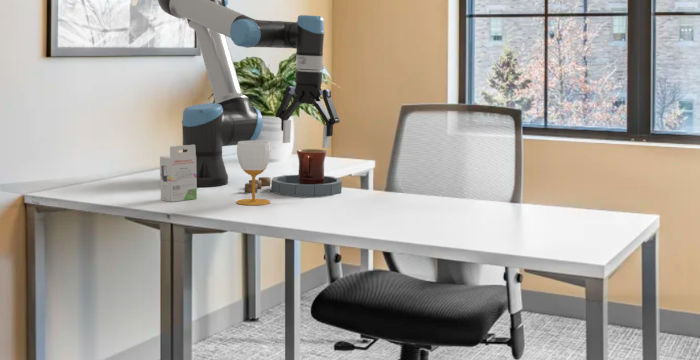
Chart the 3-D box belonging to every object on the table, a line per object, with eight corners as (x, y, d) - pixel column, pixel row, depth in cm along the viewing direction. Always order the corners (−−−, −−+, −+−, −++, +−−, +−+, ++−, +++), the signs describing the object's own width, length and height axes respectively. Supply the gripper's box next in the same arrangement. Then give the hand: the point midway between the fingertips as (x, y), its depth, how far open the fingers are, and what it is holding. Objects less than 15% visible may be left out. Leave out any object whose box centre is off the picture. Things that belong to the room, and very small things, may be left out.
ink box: (186, 196, 241) (186, 142, 238) (197, 199, 237) (197, 144, 235) (159, 199, 235) (158, 144, 232) (169, 202, 231) (169, 146, 229)
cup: (261, 206, 228) (262, 144, 226) (230, 203, 231) (230, 142, 229) (276, 201, 237) (277, 141, 234) (245, 198, 240) (246, 139, 237)
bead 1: (242, 192, 250) (242, 184, 250) (249, 191, 253) (249, 182, 253) (252, 193, 248) (252, 185, 248) (260, 192, 251) (260, 183, 251)
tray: (258, 191, 252) (258, 180, 251) (297, 183, 269) (297, 172, 268) (317, 198, 242) (317, 187, 241) (354, 189, 259) (354, 179, 259)
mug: (300, 183, 261) (300, 148, 260) (329, 184, 260) (329, 149, 258) (289, 189, 250) (290, 153, 248) (319, 190, 248) (320, 154, 247)
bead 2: (246, 188, 257) (246, 180, 256) (253, 187, 260) (253, 179, 259) (256, 190, 255) (256, 181, 254) (263, 188, 258) (263, 180, 258)
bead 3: (255, 186, 262) (256, 178, 262) (263, 184, 265) (263, 176, 265) (265, 187, 260) (265, 179, 260) (272, 185, 263) (273, 177, 263)
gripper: (265, 68, 253) (263, 141, 257) (339, 73, 241) (336, 151, 244) (280, 67, 260) (277, 139, 263) (353, 73, 247) (350, 148, 251)
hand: (306, 145), depth 254 cm, fingers open, 13 cm apart
